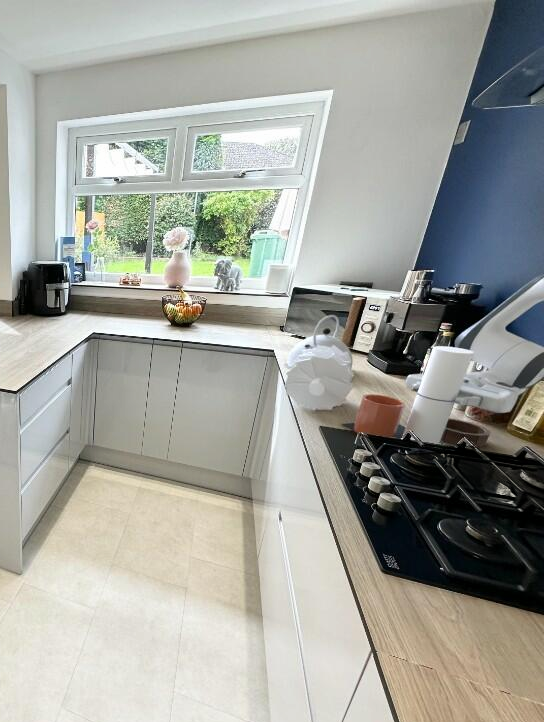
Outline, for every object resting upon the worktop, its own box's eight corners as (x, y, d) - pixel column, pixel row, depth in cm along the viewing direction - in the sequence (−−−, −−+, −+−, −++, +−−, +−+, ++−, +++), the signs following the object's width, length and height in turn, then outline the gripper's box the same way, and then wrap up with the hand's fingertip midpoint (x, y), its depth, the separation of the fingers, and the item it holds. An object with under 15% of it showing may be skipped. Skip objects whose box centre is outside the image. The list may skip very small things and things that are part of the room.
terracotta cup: (402, 439, 108) (414, 405, 104) (373, 441, 107) (384, 407, 104) (372, 425, 116) (382, 393, 113) (345, 427, 115) (354, 395, 112)
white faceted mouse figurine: (291, 420, 129) (300, 394, 147) (360, 411, 117) (360, 384, 135) (274, 368, 127) (285, 349, 146) (341, 353, 115) (344, 334, 134)
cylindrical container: (395, 435, 109) (425, 347, 101) (415, 432, 111) (446, 345, 102) (425, 447, 103) (460, 354, 94) (445, 444, 104) (481, 352, 96)
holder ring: (497, 446, 104) (502, 434, 103) (460, 448, 103) (465, 436, 102) (450, 427, 115) (454, 416, 114) (416, 429, 114) (420, 418, 112)
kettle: (330, 380, 155) (345, 322, 147) (272, 365, 173) (283, 314, 166) (361, 370, 166) (377, 317, 159) (304, 358, 185) (315, 309, 177)
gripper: (428, 366, 114) (394, 371, 110) (529, 390, 95) (492, 396, 92) (421, 387, 116) (387, 392, 112) (518, 414, 98) (482, 421, 94)
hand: (435, 394), depth 102 cm, fingers open, 8 cm apart
